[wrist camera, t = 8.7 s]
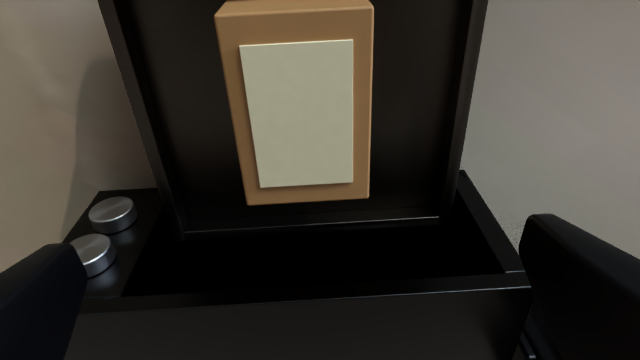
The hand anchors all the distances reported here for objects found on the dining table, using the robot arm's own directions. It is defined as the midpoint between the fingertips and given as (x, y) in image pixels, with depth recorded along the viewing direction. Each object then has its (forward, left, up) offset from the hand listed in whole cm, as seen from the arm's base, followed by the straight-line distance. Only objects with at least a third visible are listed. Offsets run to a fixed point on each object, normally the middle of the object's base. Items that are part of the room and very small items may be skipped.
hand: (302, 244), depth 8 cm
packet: (0, 0, -11) cm, 11 cm away
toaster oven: (+1, +14, -12) cm, 18 cm away
